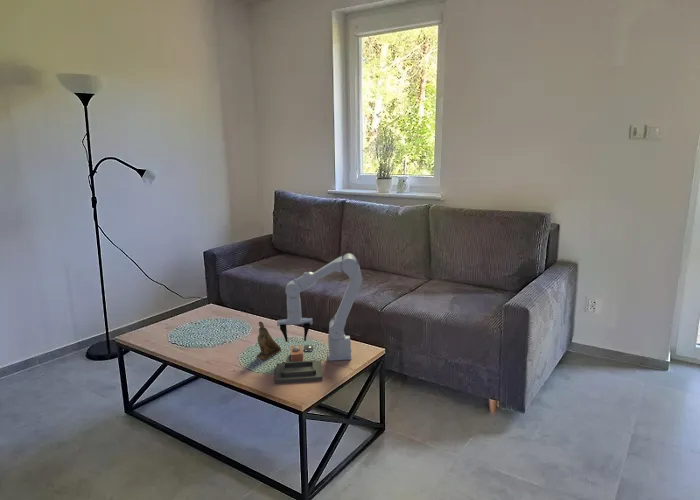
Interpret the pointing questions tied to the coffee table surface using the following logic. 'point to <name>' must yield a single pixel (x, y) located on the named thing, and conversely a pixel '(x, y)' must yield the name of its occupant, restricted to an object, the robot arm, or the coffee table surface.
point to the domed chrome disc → (308, 347)
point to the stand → (298, 371)
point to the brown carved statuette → (266, 343)
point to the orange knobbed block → (296, 353)
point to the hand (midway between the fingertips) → (295, 340)
